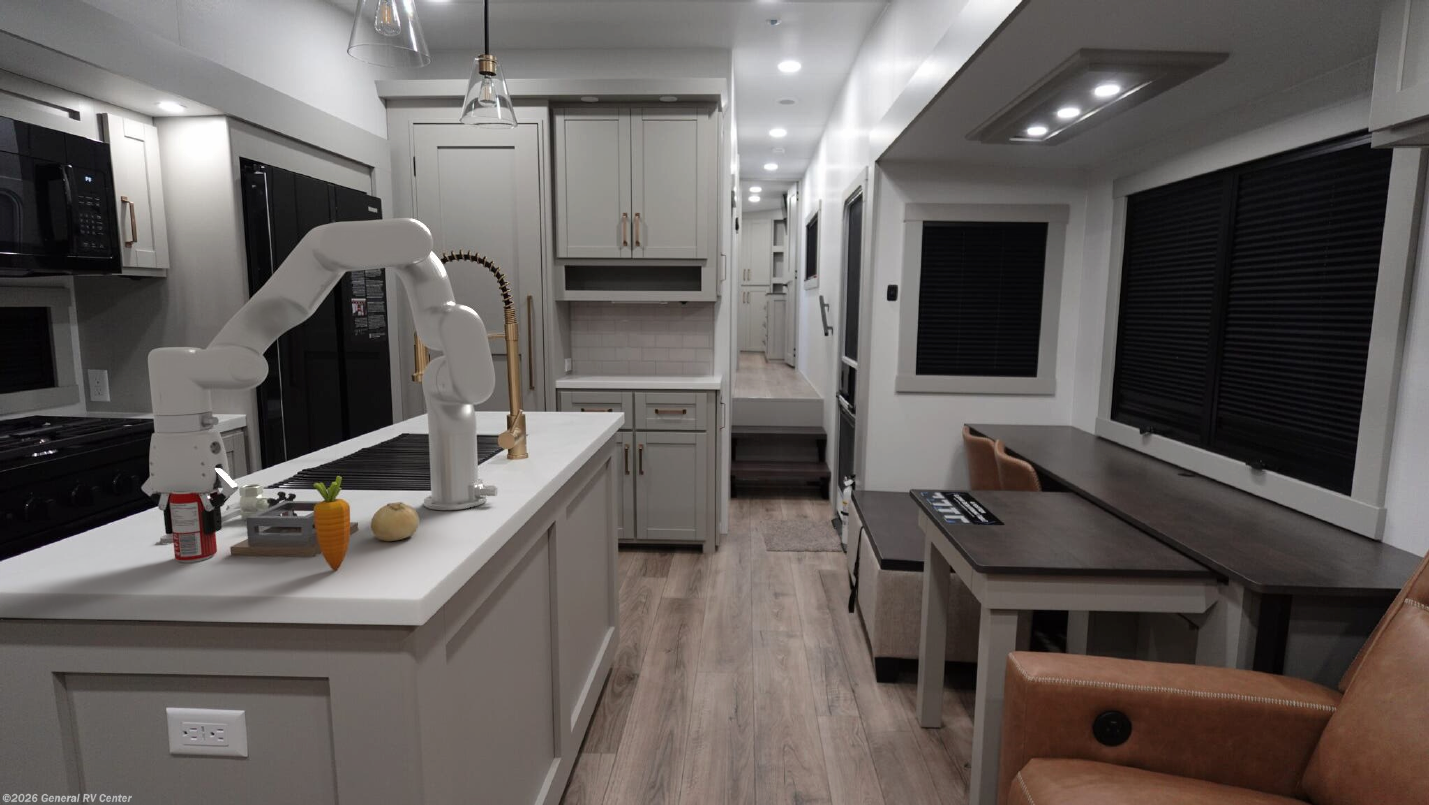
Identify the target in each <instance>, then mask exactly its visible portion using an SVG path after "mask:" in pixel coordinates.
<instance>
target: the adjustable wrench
mask: <svg viewBox="0 0 1429 805" xmlns="http://www.w3.org/2000/svg"><path fill="white" fill-rule="evenodd" d="M241 512H242V510H241V508H240V505H239V501H237V502H233V503H230V504H228V505H226V508H225V510H224V511H221V519H222V522H223V523H225V522H228V521H229V520H232V519H234V518H236V517H239V515H240V516H241ZM159 539H160V544H161V543H170V544H174V543H173V534H166V533H165V534H163V535H161V536H160V537H159Z"/></svg>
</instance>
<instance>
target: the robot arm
mask: <svg viewBox="0 0 1429 805" xmlns="http://www.w3.org/2000/svg"><path fill="white" fill-rule="evenodd" d="M433 249H434V239H433V235H432V233H431V231H430V229H429V228H428V227H427V226H426V225H425V224H424V223H423V222H421V221H420V220H418V219H415V218H411V217H398V218H384V219H372V220H353V221H351V220H350V221H338V222H336V221H335V222H331V223H328V224H327V223H326V224H322V225H318V226H316V227H314V228H312V229H311V230H309V231H308V232H307V233H306V234H305V235H304V237H303V238H301V240H300V241H299V242H298V244H297V245H296V246H295V248H293V249H292V251H291V252H290V253H289V255H288V256H287V257H286V258H285V260H284V261H282V263H281V264H280V265H279V267H278V269H276V271H275V272H274V273H273V274H272V275H271V276H270V278H269V279H268V280H267V281H266V282H265V284H264V285H263V286H262V287H261V288H260V289H259V290H258V291H257V292H256V293H255V294H253V295H252V297H250V299H249V300H248V301H247V302H246V303H245V304H244V305H243V306H242V307H241V308H240V309H239V310H237V312H236V313H235V314H234V315H233V316H232V317H231V318H230V319H229V320H228V321H227V322H226V323H225V325H224V326H223V327H222V328H221V330H220V331H219V332H218V333H217V334H216V336H215V337H214V338H213V339H212V340H211V342H210V343H209V344H208V346H207V347H206V348H205V349H202V348H200V347H192V346H191V347H190V346H181V347H180V346H173V347H171V346H170V347H169V346H168V347H158V348H153V349H152V350H150V352H148V356H147V366H148V376H149V386H150V396H151V397H150V398H151V407H152V415H153V416H152V417H153V428H154V432H153V433H151V439H150V446H149V456H148V457H149V461H148V462H149V467H148V468H149V477H148V478H147V480H145V482H144V483H143V484H142V485H141V487H140V488H141V490H142V492H144V493H145V494H146V495H147V496H148V497H150V499H151V500H152V501H153V502H155V503H156V505H157V506H158V510H159V511H163V513H162V514H163V520H164V521H163V522H164V531H165V535H166V534H173V533H172V522H171V512H170V502H169V500H170V496H171V493H172V492H189V493H193V494H199V496H200V498H201V500H202V502H203V505H204V507H205V509H206V510H205V511H202V520H203V531H204V534H205V535H210V534H212V533H214V532H215V533H217V532H219V531H221V530H222V527H223V526H222V525H223V523H222V519H221V512H222V508H221V507H223V506H225V503H226V502H227V501H228V500H229V498H231V496H232V495H233V494H235V492H237V491H238V490H239V486H238V484H237V483H235V481H234V480H233V479H232V478H231V475H230V466H229V462H228V457H227V456H228V455H227V452H226V447H225V444H224V440H223V438H222V435H221V432H220V431H219V430H218V429H214V428H215V427H214V426H217V425H218V424H219V423H220V422H219V420H220V419H219V417H217V416H213V407H212V397H211V395H212V394H211V390H218V391H219V390H220V391H247V390H248V391H249V390H252V389H254V388H257V387H258V386H260V385H261V384H262V383H263V382H264V381H265V379H266V378H267V376H268V374H269V364H268V361H267V360H266V358H265V356H264V353H265V352H266V351H267V349H268V348H270V346H271V345H272V344H273V343H274V342H276V340H277V339H278V338H280V336H282V335H283V334H284V333H286V332H288V331H289V330H291V329H292V328H294V327H296V326H298V325H300V324H302V323H304V322H305V321H307V319H309V318H310V317H311V316H312V315H313V314H314V313H315V312H316V311H317V309H318V308H319V307H320V305H321V304H322V303H323V301H324V300H325V299H326V298H327V296H328V295H329V294H330V292H331V291H332V290H333V288H335V286H336V285H337V284H338V282H339V281H340V279H341V278H342V277H343V276H344V275H345V273H346V272H352V271H365V270H377V269H384V268H385V269H386V268H389V269H391V270H392V271H393V272H394V273H395V274H396V275H397V276H398V277H399V278H400V280H401V282H402V283H403V286H404V288H405V291H406V294H407V298H408V301H409V305H410V309H411V313H412V318H413V323H414V327H415V331H416V335H417V338H418V340H419V342H420V343H421V344H422V345H423V346H424V347H425V348H427V349H430V350H433V351H439V352H443V355H442V356H438V357H435V358H434V359H432V360H430V361H429V363H428V364H427V365H426V366H425V367H424V370H423V372H422V377H421V385H422V392H423V396H424V400H425V406H426V414H427V423H428V425H427V426H428V450H429V451H428V452H429V468H430V491H431V492H430V493H431V494H430V495H428V496H427V497H425V498H424V499H423V505H424V508H427V509H429V510H435V511H437V510H438V511H456V510H465V509H469V508H470V507H471V508H473V507H474V506H475V507H478V506H480V505H483V504H484V503H485V502H486V501H487V497H497V496H498V493H499V492H498V487H497V486H495V485H485V484H483V483H484V482H483V480H484V479H483V478H480V479H479V471H478V470H479V469H478V467H479V466H478V465H479V464H478V441H477V437H478V436H477V431H478V430H477V418H476V417H477V416H476V411H475V407H474V406H476V405H479V404H482V403H484V402H486V401H487V400H488V399H489V398H490V397H491V396H492V394H493V393H494V390H495V387H496V374H495V373H496V372H495V367H494V361H493V358H492V352H491V347H490V344H489V339H488V335H487V330H486V326H485V323H484V322H483V320H482V318H481V317H480V315H479V314H478V313H477V312H476V311H475V310H474V309H473V308H471V307H469V306H467V305H465V304H464V305H463V304H460V303H457V301H456V299H455V295H454V291H453V288H452V285H451V281H450V277H449V276H448V273H447V270H446V268H445V266H444V264H443V262H442V261H441V260H440V258H439V257H438V256H437V255H436V253H435V252H433ZM220 489H222V490H221V491H220ZM209 494H211V496H212V499H213V500H212V499H211V497H210V495H209ZM475 507H474V508H475ZM471 508H470V509H471Z"/></svg>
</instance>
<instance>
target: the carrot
mask: <svg viewBox="0 0 1429 805" xmlns="http://www.w3.org/2000/svg"><path fill="white" fill-rule="evenodd" d="M335 478H336V479H335V481H332V482H331V484H330V486H329V487H328V488H326V486H325V484H324V483H323V482H319V483H318V482H314V484H313V487H314V488H315V490H316V491H317V492H318V493H319V494H320V495H321V497H322V499H323V500H321V502H319V503H317V504H316V505H315V506H314V511H313V512H314V520H315V528H316V535H317V539H318V542H319V546H320V549H321V554H322V556H323V558H324V560H325V562H326V563H327V564H328V565H329V567H330V568H331V569H332V570H333V571H338V570H339V568H341V566H342V563H343V562H344V560H345V558H346V555H347V552H348V548H349V542H350V536H351V535H350V522H351V507H350V504H349V502H347V501H346V500H344V499H343V498H337V496H338V495H339V494H340V492H341V490H342V488H341V487H340V486H341V483H342V480H343V479H342V476H340V475H337V476H336V477H335Z"/></svg>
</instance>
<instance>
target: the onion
mask: <svg viewBox="0 0 1429 805" xmlns="http://www.w3.org/2000/svg"><path fill="white" fill-rule="evenodd" d="M419 522H420V518H419V515H418V512H417V511H416V509H415V508H414V507H413V506H411V505H409V504H406V503H404V502H403V501H400V502H399V501H397V502H392V503H391V502H388V503H387V504H386V505H383V506H381V507H380V508H379V509H378V510H377V511H376V512H375V513H374V514H373V516H372V517H371V521H370V529H371V530H370V531H372V533H373V535H374V536H375V537H376V538H377V539H378V540H381V541H385V542H392V541H400V540H404V539H407V538H410V537H411V536H413V535H414V534H415V533H416V531H417V529H418V528H419V524H420V523H419Z"/></svg>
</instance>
